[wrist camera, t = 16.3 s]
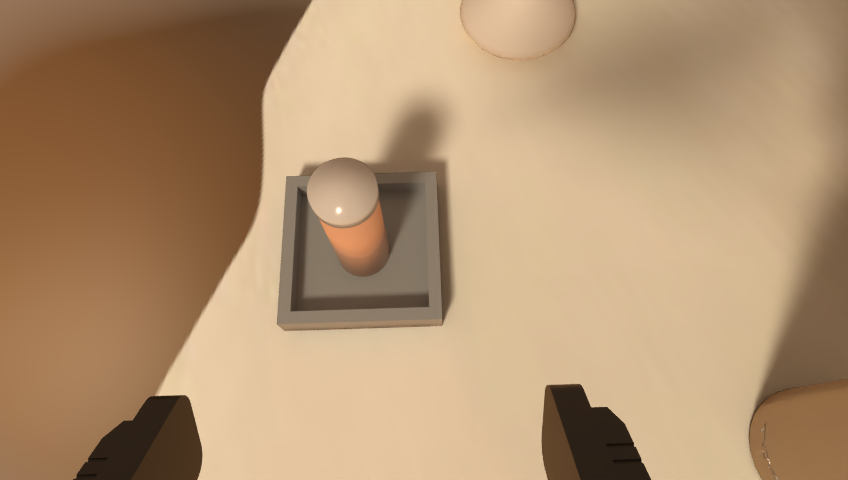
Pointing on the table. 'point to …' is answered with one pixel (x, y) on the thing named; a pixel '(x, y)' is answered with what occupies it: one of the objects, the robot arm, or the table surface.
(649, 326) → the table surface
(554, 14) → the flower in vase
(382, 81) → the table surface
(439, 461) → the table surface
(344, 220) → the shaker
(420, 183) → the tray
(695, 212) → the table surface
